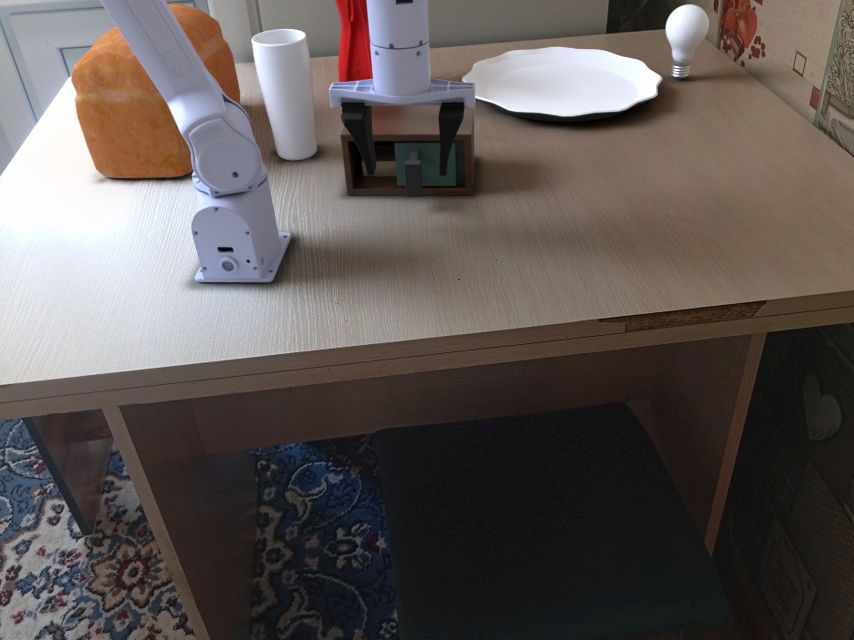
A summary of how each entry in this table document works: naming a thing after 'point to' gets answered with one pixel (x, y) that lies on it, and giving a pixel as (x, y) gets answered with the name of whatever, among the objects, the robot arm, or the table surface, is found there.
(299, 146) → the white cylinder
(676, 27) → the lightbulb
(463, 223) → the table surface
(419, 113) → the cupboard
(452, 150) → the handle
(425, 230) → the table surface
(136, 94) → the bread
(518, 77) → the plate
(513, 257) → the table surface
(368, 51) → the water bottle
